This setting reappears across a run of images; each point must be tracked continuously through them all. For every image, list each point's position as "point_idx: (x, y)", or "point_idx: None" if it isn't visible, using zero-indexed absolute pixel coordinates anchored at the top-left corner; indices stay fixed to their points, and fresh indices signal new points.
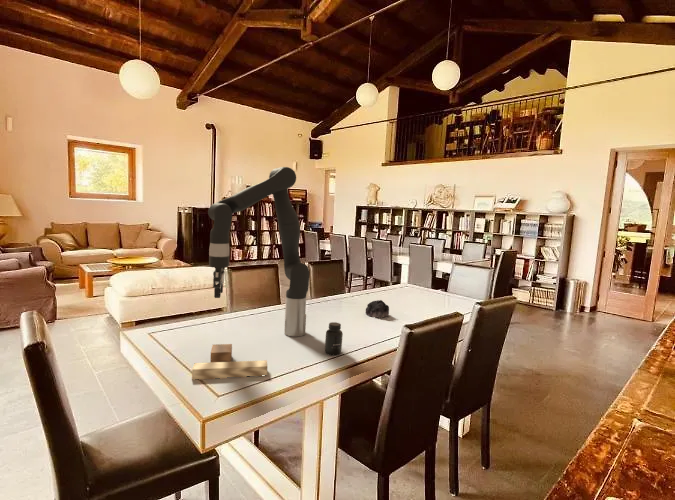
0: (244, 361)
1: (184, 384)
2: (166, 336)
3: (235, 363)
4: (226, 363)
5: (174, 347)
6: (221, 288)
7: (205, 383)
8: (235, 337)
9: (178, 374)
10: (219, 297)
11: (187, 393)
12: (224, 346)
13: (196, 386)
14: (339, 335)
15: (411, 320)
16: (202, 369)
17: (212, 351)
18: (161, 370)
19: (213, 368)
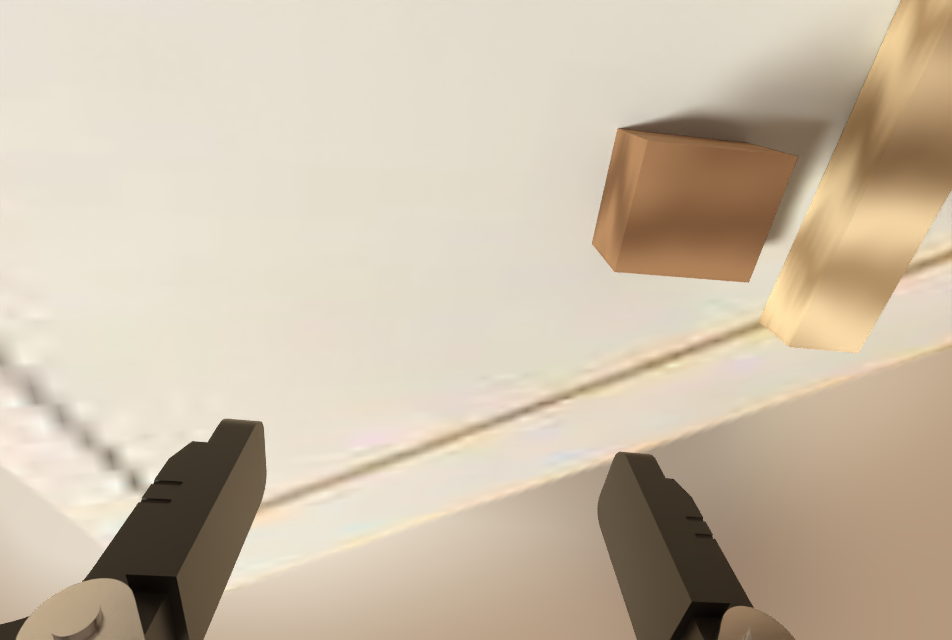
0: (929, 67)
1: None
2: None
3: (921, 133)
4: (888, 188)
5: (408, 419)
6: (229, 498)
7: None
8: (248, 69)
9: (739, 378)
10: (647, 460)
11: (932, 336)
12: (678, 197)
13: (895, 307)
14: None
15: None
16: (880, 309)
17: (732, 272)
18: (668, 436)
19: (910, 259)
